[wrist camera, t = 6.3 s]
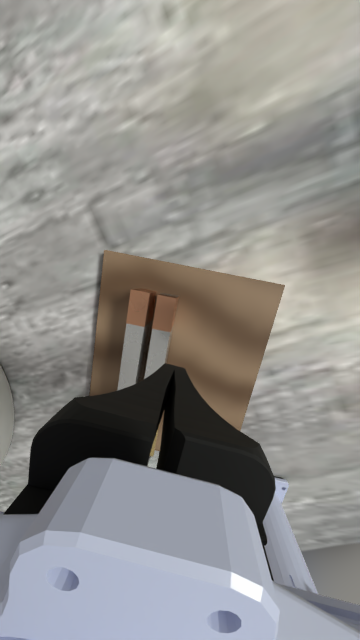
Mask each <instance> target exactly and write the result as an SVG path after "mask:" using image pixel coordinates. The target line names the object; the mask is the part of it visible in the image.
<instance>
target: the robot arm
mask: <svg viewBox="0 0 360 640" xmlns="http://www.w3.org/2000/svg"><path fill="white" fill-rule="evenodd" d="M163 412H164V418H163V427H162V436H161V446H160V452H159V458H158V463H157V468H156V469H155V468H151V467H147V464H148V460H149V456H150V452H151V449H152V445H153V442H154V439H155V436H156V433H157V430H158V427H159V424H160V421H161V418H162V415H163ZM288 487H289V484H288V482H287V481H286V480H284V479H280V478H275V477H274V476H273V473H272V471H271V468H270V466H269V463H268V461H267V458H266V456H265V454H264V452H263V450H262V448H261V446H260V444H259V443H257V442H256V441H254V440H253V439H251V438H250V437H248V436H246V435H245V434H243V433H242V432H240V431H239V430H237V429H236V428H235V427H233V426H232V425H231V424H229V423H228V422H227V421H225V420H224V419H223V418H222V417H221V416H220V415H219V414H217V413H216V412H215V411H214V410H213V409H212V408H211V407H210V406H209V405H208V404H207V402H206V401H205V400H204V399H203V398H202V397H201V395H200V394H199V392H198V391H197V390H196V388H195V387H194V385H193V383H192V381H191V380H190V378H189V376H188V374H187V371H186V369H185V368H183V367H179V366H175V365H171V364H167V363H165V364H163V365H162V366H161V367H160V368H159V369H158V370H157V371H155V372H154V373H153V374H151V375H150V376H148V377H147V378H145V379H144V380H142V381H140V382H138V383H136V384H134V385H132V386H129V387H126V388H124V389H121V390H118V391H114V392H110V393H105V394H101V395H94V396H86V397H77V398H74V399H73V400H71V401H70V402H69V403H68V404H66V405H65V406H64V407H63V408H62V409H61V410H60V411H59V412H57V413H56V414H55V415H54V416H53V417H52V418H51V419H50V420H49V421H48V422H47V423H46V424H45V425H44V426H43V427H42V428H41V429H40V430H39V431H38V432H37V434H36V435H35V437H34V439H33V442H32V446H31V452H30V466H29V479H28V485H27V486H26V487H25V488H24V489H23V491H22V492H21V493H20V494H19V496H18V497H17V498H16V499H15V500H14V502H13V503H12V504H11V505H10V507H9V508H8V509H7V510H6V511H5V512H2V511H0V640H360V605H358V604H354V603H350V602H346V601H342V600H339V599H335V598H331V597H327V596H323V595H320V594H318V592H317V590H316V587H315V585H314V583H313V580H312V578H311V575H310V573H309V570H308V568H307V565H306V563H305V561H304V558H303V556H302V553H301V551H300V548H299V546H298V544H297V541H296V539H295V536H294V534H293V531H292V529H291V526H290V524H289V522H288V519H287V517H286V514H285V512H284V509H283V507H282V501H283V499H284V496H285V494H286V492H287V489H288Z"/></svg>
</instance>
